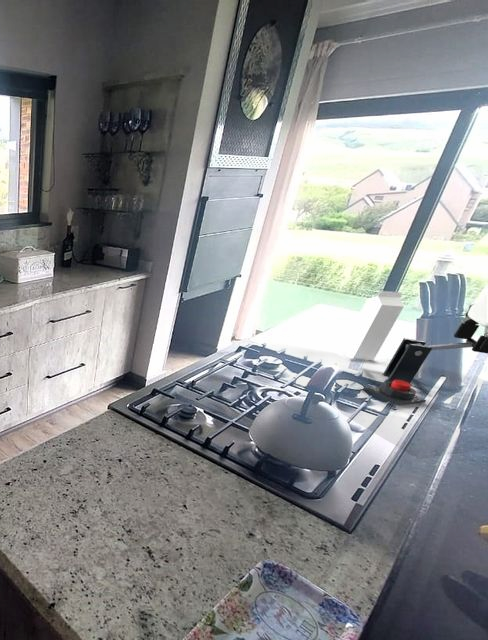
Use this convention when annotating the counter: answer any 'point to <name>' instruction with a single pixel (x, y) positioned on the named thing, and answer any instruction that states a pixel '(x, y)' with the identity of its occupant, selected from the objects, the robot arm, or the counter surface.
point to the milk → (373, 325)
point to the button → (401, 385)
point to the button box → (396, 394)
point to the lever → (451, 345)
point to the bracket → (407, 360)
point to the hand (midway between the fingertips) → (470, 344)
